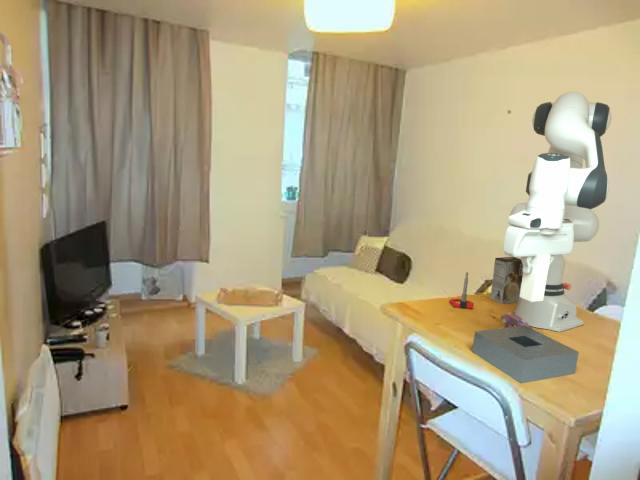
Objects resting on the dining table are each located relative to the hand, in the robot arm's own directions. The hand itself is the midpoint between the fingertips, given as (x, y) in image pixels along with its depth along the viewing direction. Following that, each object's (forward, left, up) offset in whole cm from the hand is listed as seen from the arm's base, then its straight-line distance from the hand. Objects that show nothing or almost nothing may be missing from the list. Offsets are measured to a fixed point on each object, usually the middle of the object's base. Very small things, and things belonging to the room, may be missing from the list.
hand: (535, 272), depth 123 cm
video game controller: (-15, -17, -25) cm, 34 cm away
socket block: (0, 0, -25) cm, 25 cm away
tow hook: (-14, -43, -25) cm, 52 cm away
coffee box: (-34, -43, -25) cm, 60 cm away
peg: (0, 0, -7) cm, 7 cm away
